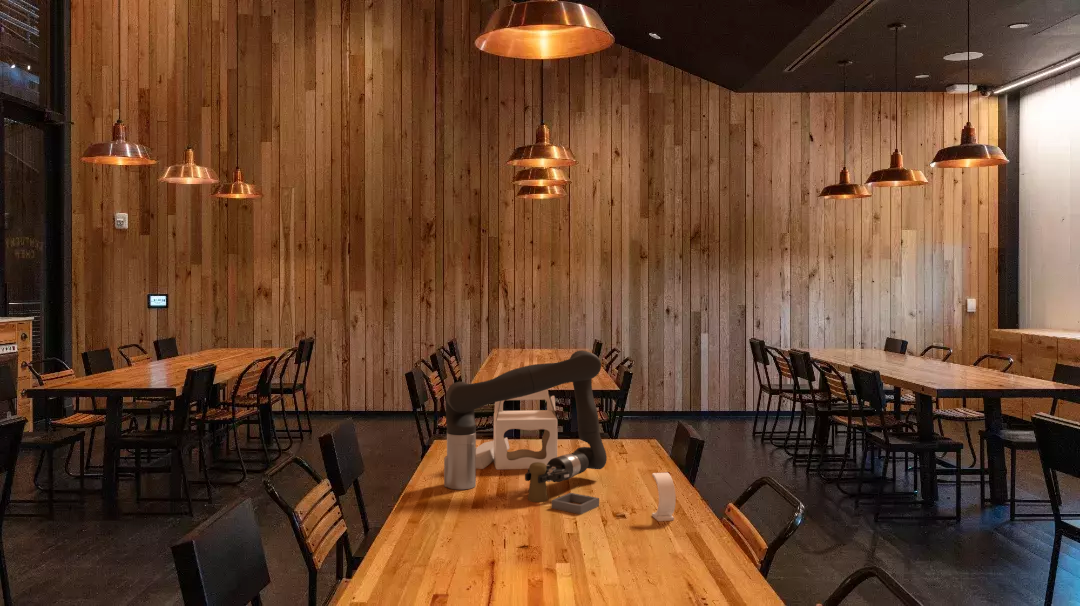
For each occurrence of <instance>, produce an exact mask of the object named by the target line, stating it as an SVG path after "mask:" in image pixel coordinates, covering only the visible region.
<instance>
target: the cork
mask: <svg viewBox="0 0 1080 606" xmlns="http://www.w3.org/2000/svg"><path fill="white" fill-rule="evenodd" d="M529 471H530V473H531V479H530V480H529V485H528V486H529V488H528V496H527V500H528V501H529V502H533V503H543V502H547V501H548V499H549V498H548V497H549V496H548V492H547V491H548V490H547V483H546V482H547V481H546V482H543V483H538V476H539V475H543V474H545V473H546V465H545V464H544V463H541V462H535V463H532V464H531V465H530V467H529Z"/></svg>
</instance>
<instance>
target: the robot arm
mask: <svg viewBox="0 0 1080 606" xmlns="http://www.w3.org/2000/svg"><path fill="white" fill-rule="evenodd" d="M601 369H602V362H601V359H600V358H599V357H598V356H597V354H595V353H592V352H591V351H587V350H577V351H575V352H573V353H571V355H570V357H569V358H568V359H565V360H562V361H561V360H560V361H557V362H547V363H537V364H529V365H526V366H525V365H524V366H522V367H517V368H514V369H511V370H509V371H506V372H504V373H502V374H500V375H497V376H495V377H493V378H492V379H488V380H485V381H480V382H479V381H478V382H473V383H468V382H466V381H457V382H453V383H452V384H450V386H449V387H448V388H447V391H446V393H445V394H446V395H445V423H446V456H444V459H443V460H444V461H443V462H444V463H443V464H444V465H443V467H444V468H443V471H444V472H443V473H444V474H443V476H444V477H443V478H444V480H443V484H444V485H443V487H446V488H448V489H452V490H469V489H473V488H475V487H476V484H477V483H476V481H477V480H476V479H477V478H476V476H477V473H476V472H477V469H476V448H477V446H476V445H477V444H476V442H477V426H476V425H477V424H476V419H475V410H478V409H479V408H482V407H485V406H487V405H490V404H493V403H494V404H495V402H498V401H503V400H505V401H506V400H508V399H513V398H517V397H522V396H526V395H530V394H533V393H537V392H540V391H543V390H546V389H548V390H549V389H552V388H555V387H558V386H561V385H564V384H569V383H572V385H573V391H574V397H575V405H576V417H577V430H578V437H579V438H578V439H579V440H580V441H582V442H585V443H587V444H588V445H589V446H581V447H577V449H575V450H574V451H573V452H571V453H567V454H566V453H565V454H561V455H560V456H557V457H556V458H553V459H551V460H550V461H549V462H548V464H547V465H546V473H545V474H543V475H539V476H538V483H543V482H548V483H549V482H553V483H561V482H565V481H568V480H570V479H572V478H574V477H575V476H577V475H580V474H582V473H584V472H585V471H587V469H589V470H590V469H592V470H602V469H603V468H604V467H605V466H606V464H607V459H608V458H607V457H608V456H607V451H606V449H605V446H604V444H603V441H602V436H601V434H600V424H599V423H600V421H599V413H598V410H597V409H598V408H597V406H596V402H595V401H596V400H595V398H594V392H593V385H592V380H593V379H594V378H596V377H597V376H598V375H599V373H600V371H601ZM508 401H509V400H508ZM530 479H531V473H530V471H529V469H527V472H526V473H525V474H524V480H525V481H527V482H530Z"/></svg>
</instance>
